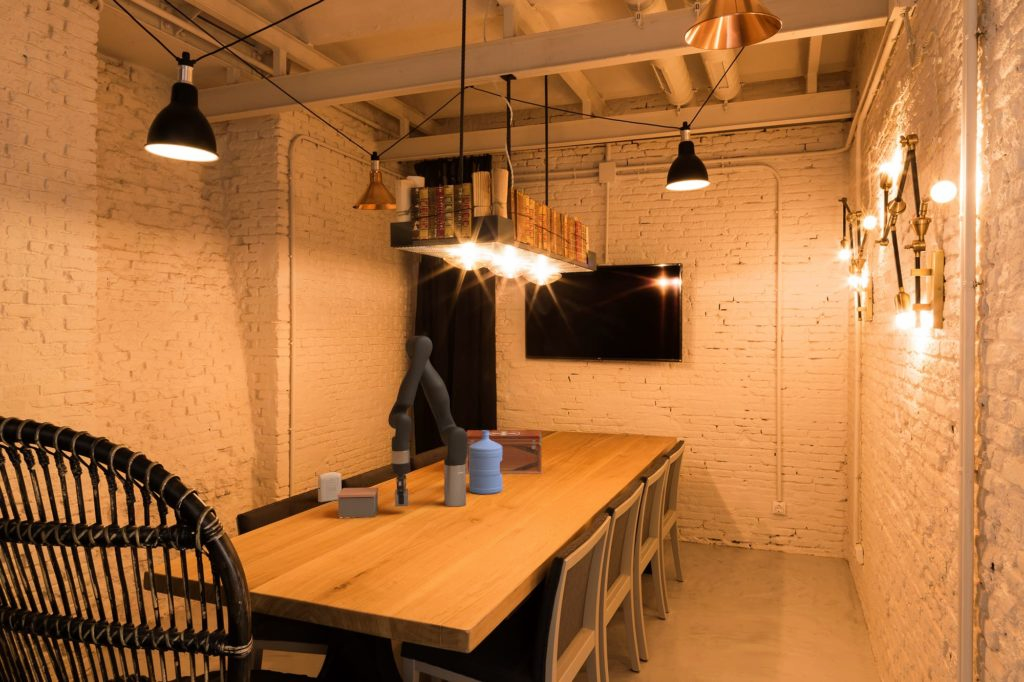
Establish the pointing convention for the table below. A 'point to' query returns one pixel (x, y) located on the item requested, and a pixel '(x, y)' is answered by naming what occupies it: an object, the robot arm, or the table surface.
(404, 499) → the weight
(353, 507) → the box
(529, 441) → the wooden box
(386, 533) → the table surface
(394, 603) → the table surface
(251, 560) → the table surface
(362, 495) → the lid
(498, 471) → the water jug
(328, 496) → the photo printer
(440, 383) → the robot arm
